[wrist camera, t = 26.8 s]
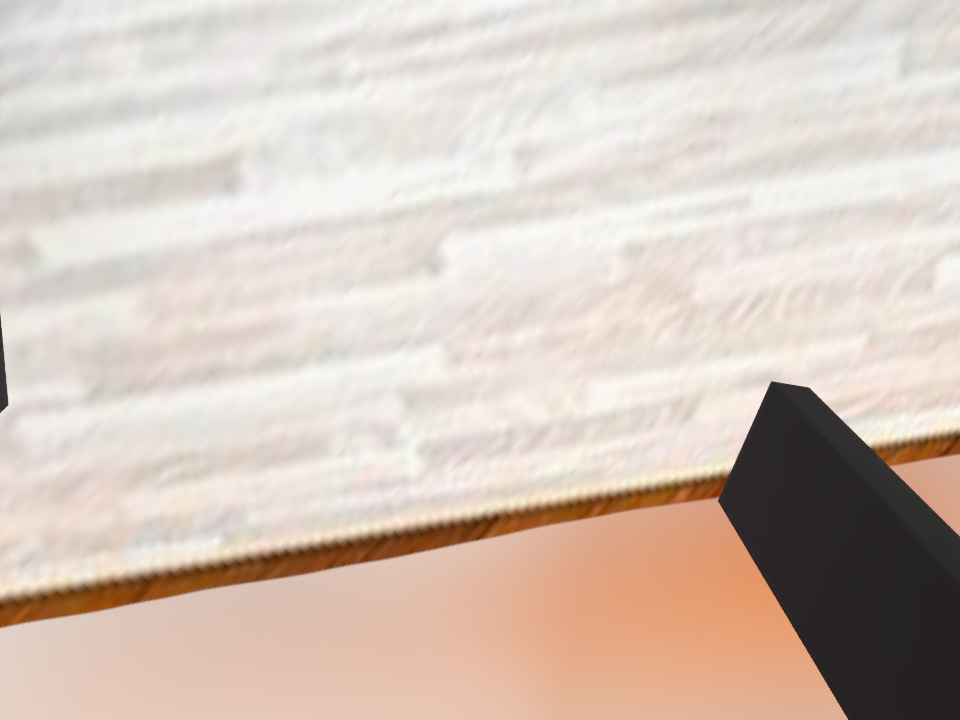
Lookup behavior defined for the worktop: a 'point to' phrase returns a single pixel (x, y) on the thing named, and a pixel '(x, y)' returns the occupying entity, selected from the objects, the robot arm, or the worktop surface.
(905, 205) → the worktop surface
